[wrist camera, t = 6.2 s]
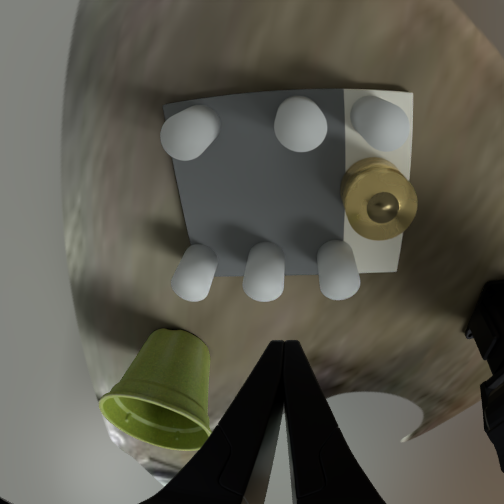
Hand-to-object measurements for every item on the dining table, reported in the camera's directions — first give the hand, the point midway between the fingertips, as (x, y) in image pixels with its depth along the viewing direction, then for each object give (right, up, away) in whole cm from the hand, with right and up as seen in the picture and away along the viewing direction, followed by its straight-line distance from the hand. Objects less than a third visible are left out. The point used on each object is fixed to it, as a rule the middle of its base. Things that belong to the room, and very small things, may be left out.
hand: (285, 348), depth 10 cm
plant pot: (-8, -6, +20) cm, 22 cm away
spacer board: (+2, +7, +10) cm, 12 cm away
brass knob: (+6, +7, +8) cm, 12 cm away
